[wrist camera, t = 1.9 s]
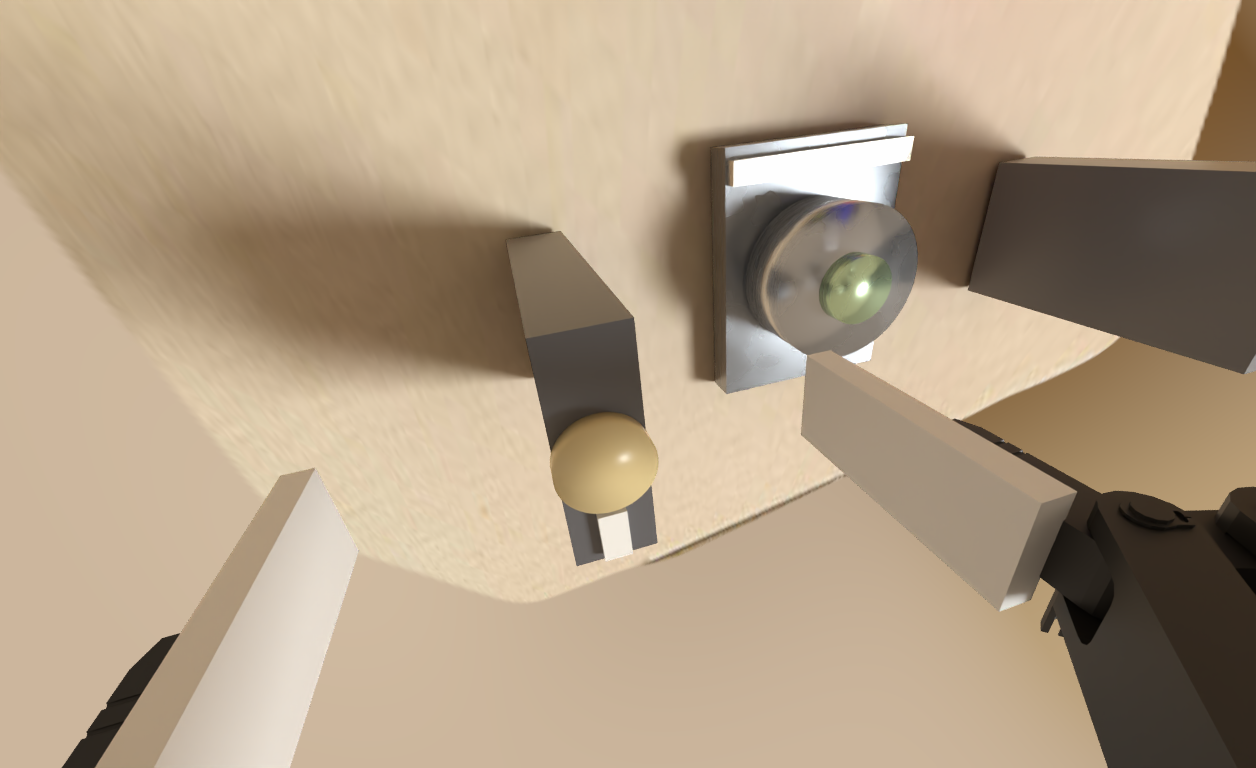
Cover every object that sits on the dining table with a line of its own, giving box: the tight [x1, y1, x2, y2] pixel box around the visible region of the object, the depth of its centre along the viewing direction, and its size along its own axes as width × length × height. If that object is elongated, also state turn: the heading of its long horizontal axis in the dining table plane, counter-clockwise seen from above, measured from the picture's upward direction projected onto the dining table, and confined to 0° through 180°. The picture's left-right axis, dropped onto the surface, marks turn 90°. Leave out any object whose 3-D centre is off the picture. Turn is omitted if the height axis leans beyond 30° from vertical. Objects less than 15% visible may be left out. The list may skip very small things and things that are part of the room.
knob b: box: [968, 157, 1256, 374], centre depth 21 cm, size 7×3×13 cm, turn 6°
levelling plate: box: [711, 124, 918, 394], centre depth 23 cm, size 12×9×5 cm
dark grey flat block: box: [506, 231, 658, 566], centre depth 17 cm, size 7×3×13 cm, turn 6°
